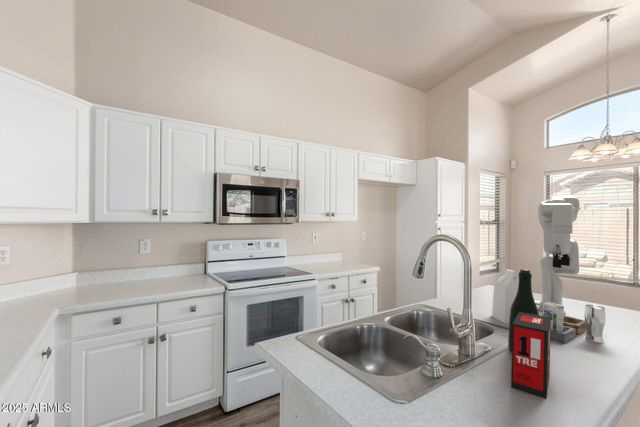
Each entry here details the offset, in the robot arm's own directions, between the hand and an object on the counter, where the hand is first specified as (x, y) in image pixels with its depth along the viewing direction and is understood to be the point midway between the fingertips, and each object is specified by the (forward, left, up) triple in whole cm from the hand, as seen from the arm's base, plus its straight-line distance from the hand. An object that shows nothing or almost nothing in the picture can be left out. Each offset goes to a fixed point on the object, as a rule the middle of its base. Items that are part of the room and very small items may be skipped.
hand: (561, 266), depth 143 cm
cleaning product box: (+11, -61, -31) cm, 69 cm away
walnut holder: (-1, +10, -31) cm, 33 cm away
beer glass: (+12, +3, -31) cm, 34 cm away
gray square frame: (-1, -7, -31) cm, 32 cm away
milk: (-22, -1, -31) cm, 38 cm away
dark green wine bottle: (0, -39, -31) cm, 50 cm away
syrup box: (-1, -7, -31) cm, 32 cm away
